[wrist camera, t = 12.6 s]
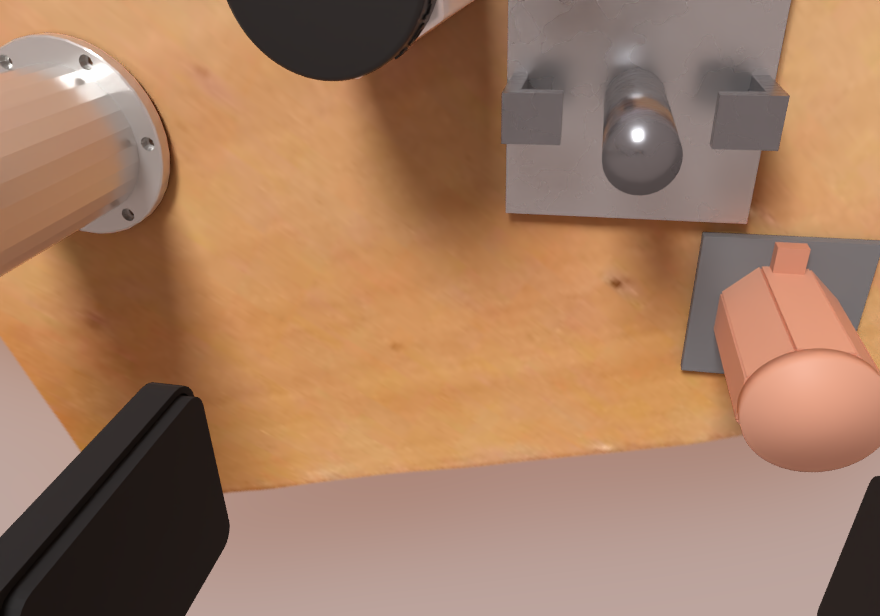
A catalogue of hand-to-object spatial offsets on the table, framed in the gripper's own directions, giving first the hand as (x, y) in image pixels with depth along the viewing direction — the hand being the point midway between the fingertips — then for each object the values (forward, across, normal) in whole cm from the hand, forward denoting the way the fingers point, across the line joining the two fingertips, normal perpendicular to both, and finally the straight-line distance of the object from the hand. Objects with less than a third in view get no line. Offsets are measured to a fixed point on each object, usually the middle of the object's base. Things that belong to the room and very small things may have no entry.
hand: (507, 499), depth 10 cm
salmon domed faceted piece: (+30, -13, +13) cm, 35 cm away
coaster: (+30, -13, +13) cm, 35 cm away
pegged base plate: (+31, -4, +1) cm, 31 cm away
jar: (+31, +9, -6) cm, 33 cm away
